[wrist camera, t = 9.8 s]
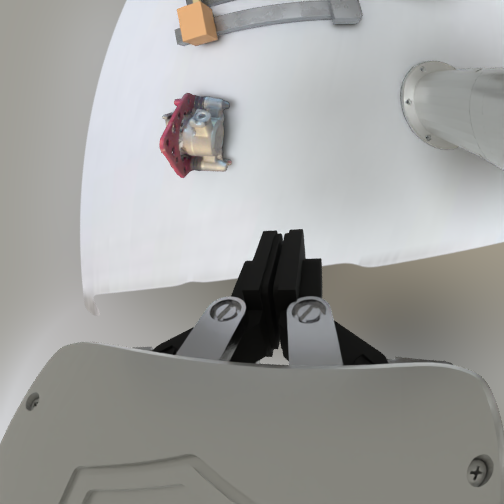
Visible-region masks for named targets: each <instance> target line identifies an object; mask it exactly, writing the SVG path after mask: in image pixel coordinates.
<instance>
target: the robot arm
mask: <svg viewBox="0 0 504 504" xmlns="http://www.w3.org/2000/svg"><path fill="white" fill-rule="evenodd" d="M420 68H421V69H422V71H421V70H420ZM406 100H407V101H408V103H406ZM401 105H402V109H403V113H404V116H405V118H406V121H407V122H408V124H409V126H410V128H411V129H412V130H413V131H414V133H415V134H416V135H417V136H418V137H419V138H420V139H421V140H423V141H424V142H426V143H427V144H429V145H431V146H433V147H436V148H439V149H445V150H450V149H456V148H458V147H461V148H463V149H465V150H467V151H469V152H471V153H473V154H475V155H477V156H479V157H481V158H482V159H484V160H486V161H488V162H490V163H491V164H493V165H495V166H497V167H499V168H500V169H502V170H504V68H472V69H455V68H454V67H452V66H450V65H448V64H446V63H443V62H439V61H427V62H423V63H420V64H418V65H416V66H415V67H413V68H412V69H411V70H410V71H409V72H408V73H407V75H406V77H405V79H404V81H403V84H402V89H401ZM426 136H428V137H427V138H426ZM279 342H281V348H282V350H283V356H284V357H285V358H286V359H287V360H288V361H289V365H270V364H260V359H262V358H264V357H265V356H266V357H272V355H273V350H274V349H278V347H279ZM0 504H504V430H503V425H502V420H501V416H500V413H499V409H498V406H497V403H496V400H495V398H494V395H493V393H492V391H491V389H490V387H489V385H488V384H487V382H486V381H485V380H484V379H483V378H482V376H480V375H479V374H477V373H476V372H474V371H472V370H469V369H466V368H464V367H459V366H455V365H453V364H452V363H449V362H445V361H434V360H422V359H412V358H402V357H395V360H392V359H386V357H385V356H384V355H383V354H382V353H381V352H379V351H378V350H376V349H375V348H373V347H372V346H371V345H369V344H367V343H366V342H365V341H363V340H362V339H360V338H359V337H357V336H356V335H355V334H353V333H352V332H350V331H349V330H347V329H346V328H344V327H343V326H341V325H340V324H338V323H337V322H336V321H334V320H333V315H332V311H331V307H330V305H329V303H327V302H326V301H325V300H323V299H322V262H321V259H306V258H305V246H304V235H303V229H297V230H290V231H289V233H285V235H284V240H283V238H282V234H277V231H263V234H262V236H261V239H260V242H259V245H258V248H257V250H256V253H255V256H254V259H253V261H245V263H244V265H243V268H242V270H241V273H240V275H239V278H238V280H237V283H236V285H235V288H234V290H233V293H232V295H231V297H224V298H220V299H218V300H216V301H214V302H212V303H211V304H210V305H209V306H208V308H207V309H206V310H205V312H204V313H203V315H202V317H201V318H200V319H199V321H198V322H197V324H196V325H195V327H193V328H191V329H189V330H187V331H185V332H183V333H181V334H179V335H177V336H176V337H174V338H172V339H170V340H168V341H166V342H164V343H162V344H160V345H158V346H157V347H156V348H155V349H153V348H152V347H136V348H129V347H123V346H119V345H112V344H106V343H97V342H80V343H74V344H70V345H67V346H64V347H62V348H60V349H59V350H58V351H57V352H56V353H55V354H54V355H53V356H52V357H51V359H50V360H49V361H48V362H47V364H46V365H45V366H44V368H43V369H42V370H41V372H40V374H39V375H38V376H37V378H36V379H35V381H34V382H33V384H32V385H31V387H30V389H29V390H28V392H27V394H26V395H25V397H24V399H23V401H22V402H21V404H20V406H19V407H18V409H17V411H16V413H15V415H14V417H13V419H12V420H11V422H10V425H9V426H8V429H7V430H6V433H5V435H4V437H3V439H2V441H1V444H0Z"/></svg>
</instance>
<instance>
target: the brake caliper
mask: <svg viewBox="0 0 504 504" xmlns="http://www.w3.org/2000/svg"><path fill="white" fill-rule="evenodd" d="M174 104H175V105H176V106H177V108H176V109H175V111H174V112H173V113H169V114H165V115H163V116H162V118H163V119H165V120H166V126H167V127H166V129H165V130H164V132H163V135H162V137H161V139H160V144H159V146H160V150H161V153H163V154H164V156H165V157H166V158H167V160H168V161H169V163H170V165H171V167H172V168H173V169H174V171H175V172H176V174H177V175H179V176H180V177H181V178H184V177H185V176H186V175H187V174H188V173H189V172H190V171H192V170H197V171H222V172H224V171H226V170H227V165H231V164H232V162H231V160H229V159H222V156H223V151H222V149H221V148H222V145H223V137H224V128H223V121H224V114H223V110H224V109H227V108H229V107H230V105H229V103H228V102H226V101H224V100H223V99H218V98H212V97H200V96H196V95H192V94H190V93H186V94H184V96H183V97H182V99H175V101H174ZM172 152H173V153H172Z"/></svg>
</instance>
